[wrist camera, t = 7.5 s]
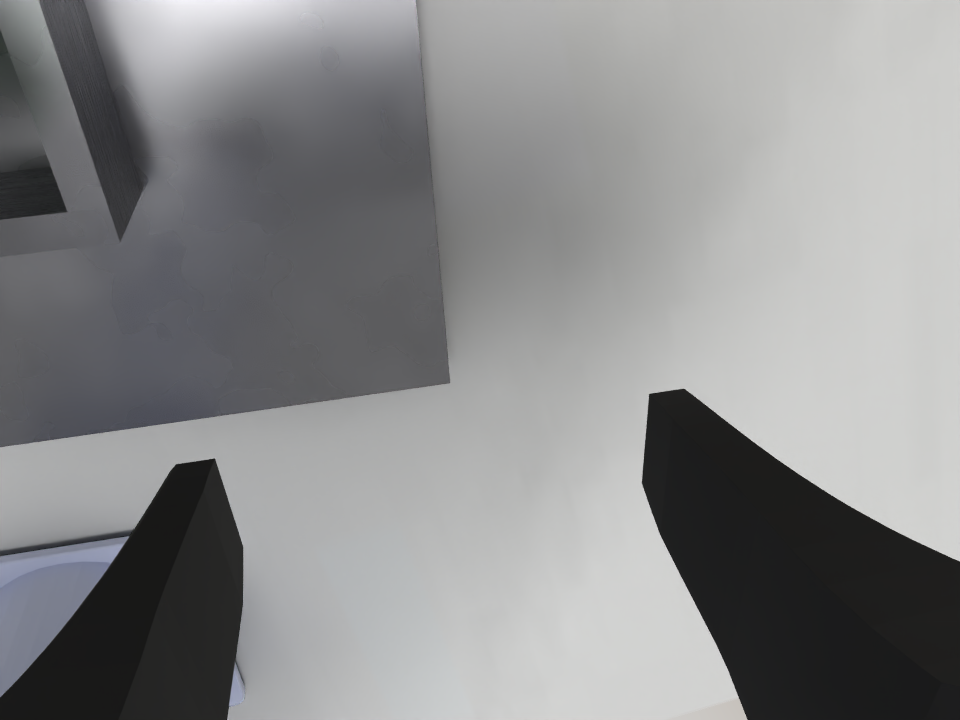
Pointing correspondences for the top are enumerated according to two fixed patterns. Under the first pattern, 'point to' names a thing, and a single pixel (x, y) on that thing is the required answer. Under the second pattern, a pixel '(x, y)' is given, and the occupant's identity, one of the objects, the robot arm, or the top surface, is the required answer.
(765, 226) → the top surface
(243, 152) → the post base
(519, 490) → the top surface
